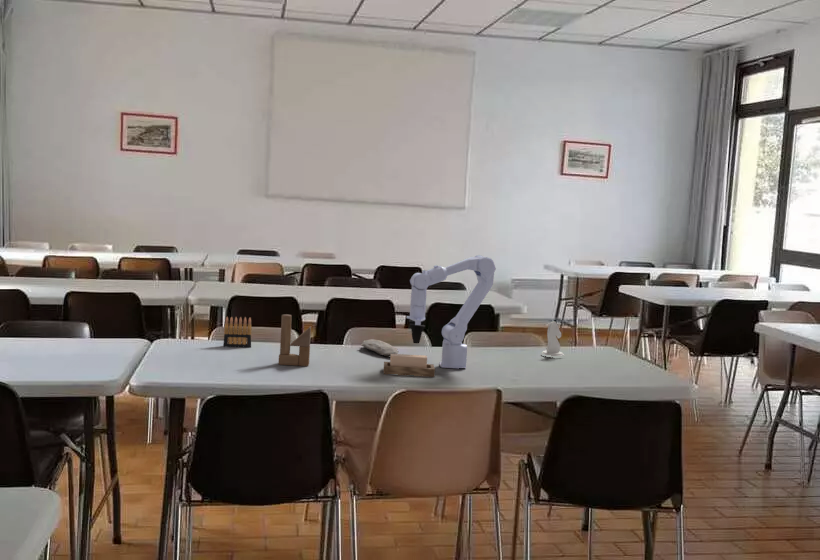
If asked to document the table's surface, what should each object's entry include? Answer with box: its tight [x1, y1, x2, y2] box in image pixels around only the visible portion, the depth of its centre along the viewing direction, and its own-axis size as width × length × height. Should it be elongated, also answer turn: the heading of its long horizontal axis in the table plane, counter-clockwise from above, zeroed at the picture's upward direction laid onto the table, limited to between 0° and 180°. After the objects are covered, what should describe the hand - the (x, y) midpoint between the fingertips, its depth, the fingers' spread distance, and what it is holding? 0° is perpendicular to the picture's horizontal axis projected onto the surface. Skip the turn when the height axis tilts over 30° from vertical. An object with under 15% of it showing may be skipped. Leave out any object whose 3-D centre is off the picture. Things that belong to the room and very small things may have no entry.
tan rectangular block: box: [389, 353, 428, 368], centre depth 290 cm, size 13×4×6 cm, turn 92°
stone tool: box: [360, 338, 399, 357], centre depth 324 cm, size 12×5×25 cm
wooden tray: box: [383, 361, 436, 378], centre depth 291 cm, size 18×8×3 cm, turn 92°
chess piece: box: [541, 320, 565, 356], centre depth 340 cm, size 10×10×15 cm
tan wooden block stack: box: [277, 313, 312, 367], centre depth 291 cm, size 4×11×18 cm, turn 92°
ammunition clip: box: [222, 316, 252, 349], centre depth 317 cm, size 11×2×12 cm, turn 100°
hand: (415, 341), depth 302 cm, fingers open, 7 cm apart
